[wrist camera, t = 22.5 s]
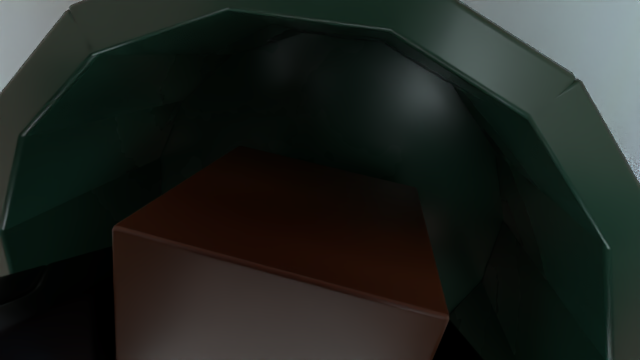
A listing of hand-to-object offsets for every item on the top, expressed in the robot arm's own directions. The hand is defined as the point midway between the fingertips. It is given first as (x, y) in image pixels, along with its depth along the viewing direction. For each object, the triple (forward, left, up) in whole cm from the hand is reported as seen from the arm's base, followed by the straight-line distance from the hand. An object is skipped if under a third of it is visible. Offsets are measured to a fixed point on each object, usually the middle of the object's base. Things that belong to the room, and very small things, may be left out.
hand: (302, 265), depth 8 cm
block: (0, 0, -1) cm, 1 cm away
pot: (0, 0, -3) cm, 3 cm away
